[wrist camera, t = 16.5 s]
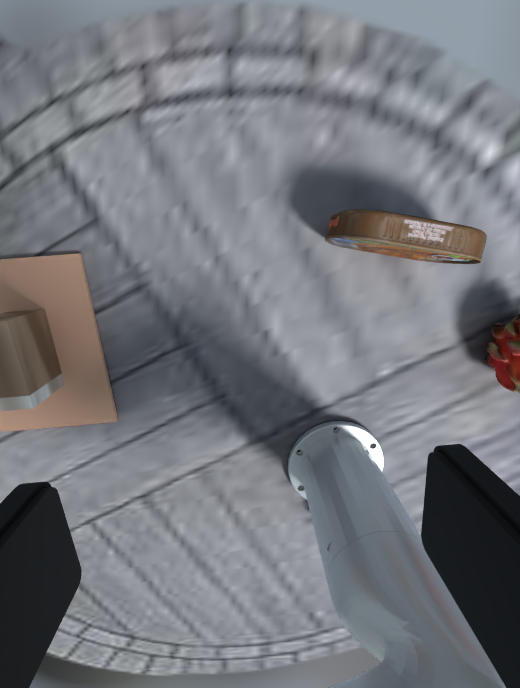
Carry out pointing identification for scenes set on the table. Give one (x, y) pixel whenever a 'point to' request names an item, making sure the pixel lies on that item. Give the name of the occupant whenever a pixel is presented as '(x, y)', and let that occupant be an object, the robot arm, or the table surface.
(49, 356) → the card box
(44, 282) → the mat
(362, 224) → the tin
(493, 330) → the dragon fruit
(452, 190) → the table surface
